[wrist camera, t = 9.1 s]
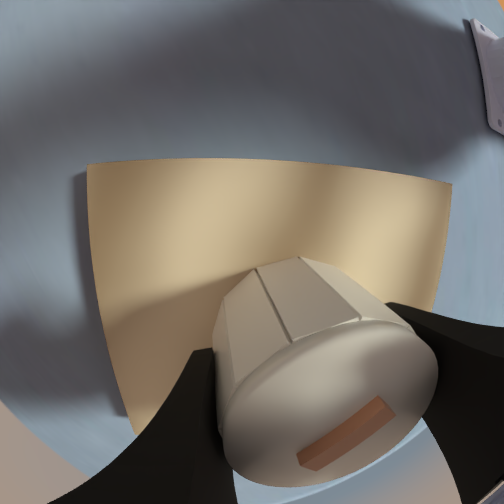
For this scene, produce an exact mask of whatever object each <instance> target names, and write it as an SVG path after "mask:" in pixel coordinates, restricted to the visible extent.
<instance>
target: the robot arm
mask: <svg viewBox="0 0 504 504" xmlns="http://www.w3.org/2000/svg"><path fill="white" fill-rule="evenodd" d="M470 24H471V28H472V31H473V35H474V39H475V43H476V47H477V51H478V56H479V60H480V66H481V71H482V77H483V83H484V90H485V97H486V106H487V117H488V123H489V125H490V127H491V128H492V129H494V130H495V131H497V132H499V133H501V134H502V135H504V37H503V38H499V37H498V36H496V35H495V34H494V33H493V32H492V31H490V30H489V29H488V28H487V27H485V26H484V25H483V24H482V23H480V22H479V21H478V20H476V19H471V20H470ZM385 305H386V306H387V307H388V308H390V309H391V310H392V311H393V312H395V313H396V314H397V315H398V316H399V317H401V318H402V319H403V320H404V321H406V322H407V323H408V324H409V325H411V327H412V329H413V330H414V332H415V333H416V335H417V336H418V337H419V338H420V339H421V340H423V341H424V342H425V343H426V344H427V345H428V346H429V347H430V348H431V349H432V351H433V352H434V354H435V357H436V359H437V364H438V380H437V386H436V389H435V392H434V395H433V397H432V400H431V402H430V404H429V406H428V408H427V409H426V411H425V413H424V414H423V416H422V418H423V420H424V421H425V423H426V424H427V426H428V427H429V429H430V431H431V433H432V434H433V436H434V437H435V439H436V441H437V443H438V445H439V447H440V449H441V451H442V453H443V454H444V457H445V459H446V461H447V463H448V465H449V468H450V470H451V472H452V475H453V477H454V480H455V483H456V486H457V489H458V492H459V495H460V498H461V502H462V504H477V503H478V502H480V501H481V500H482V499H483V498H484V497H485V496H487V495H488V494H489V493H490V492H491V491H492V490H494V489H495V488H496V487H497V486H498V485H499V484H500V483H501V482H502V481H504V327H495V326H487V325H480V324H475V323H470V322H465V321H461V320H456V319H452V318H449V317H445V316H441V315H438V314H434V313H431V312H428V311H424V310H421V309H417V308H414V307H411V306H407V305H403V304H399V303H395V302H388V303H385ZM47 504H238V503H237V497H236V492H235V487H234V479H233V468H232V467H231V466H230V465H229V463H228V461H227V459H226V457H225V453H224V448H223V438H222V437H221V435H220V433H219V431H218V424H217V410H216V396H215V359H214V351H213V348H212V347H211V348H205V349H199V350H194V351H193V352H192V353H191V355H190V357H189V359H188V361H187V363H186V365H185V367H184V369H183V371H182V373H181V374H180V376H179V378H178V380H177V381H176V383H175V385H174V387H173V388H172V390H171V392H170V393H169V395H168V397H167V398H166V400H165V401H164V403H163V404H162V405H161V407H160V408H159V410H158V411H157V413H156V414H155V416H154V417H153V418H152V420H151V421H150V422H149V424H148V425H147V426H146V427H145V429H144V430H143V431H142V432H141V433H140V434H139V436H138V437H137V438H136V439H135V440H134V441H133V442H132V443H131V444H130V445H129V446H128V447H127V448H126V449H125V450H124V451H123V452H122V453H121V454H120V455H119V456H118V457H117V458H116V459H114V460H113V461H112V462H111V463H110V464H109V465H108V466H106V467H105V468H104V469H103V470H101V471H100V472H99V473H97V474H96V475H95V476H93V477H92V478H91V479H89V480H88V481H86V482H85V483H83V484H82V485H80V486H79V487H77V488H76V489H74V490H72V491H70V492H68V493H67V494H65V495H63V496H61V497H60V498H57V499H56V500H54V501H52V502H49V503H47ZM481 504H504V484H503V485H502V486H501V487H500V488H499V489H498V490H497V491H496V492H494V493H493V494H492V495H491V496H490V497H489V498H488V499H486V500H485V501H484V502H483V503H481Z"/></svg>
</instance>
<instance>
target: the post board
mask: <svg viewBox="0 0 504 504" xmlns="http://www.w3.org/2000/svg"><path fill="white" fill-rule="evenodd" d="M451 195H452V184H450V183H445V182H441V181H436V180H431V179H426V178H420V177H415V176H409V175H404V174H398V173H391V172H385V171H378V170H371V169H364V168H356V167H348V166H339V165H330V164H320V163H308V162H296V161H281V160H262V159H233V158H180V159H151V160H133V161H118V162H106V163H96V164H87V205H88V223H89V236H90V247H91V256H92V265H93V273H94V280H95V286H96V293H97V299H98V304H99V310H100V315H101V320H102V325H103V329H104V334H105V338H106V343H107V347H108V351H109V355H110V359H111V363H112V366H113V370H114V373H115V377H116V380H117V384H118V387H119V390H120V393H121V396H122V400H123V403H124V406H125V408H126V411H127V414H128V417H129V420H130V423H131V425H132V428H133V430H134V433H135V434H136V435H139V434H140V433H141V432H142V431H143V430H144V429H145V427H146V426H147V425H148V424H149V422H150V421H151V420H152V418H153V417H154V416H155V414H156V413H157V411H158V410H159V408H160V407H161V405H162V404H163V403H164V401H165V400H166V398H167V397H168V395H169V393H170V392H171V390H172V388H173V387H174V385H175V383H176V381H177V380H178V378H179V376H180V374H181V373H182V371H183V369H184V367H185V365H186V363H187V361H188V359H189V357H190V355H191V353H192V352H193V351H194V350H199V349H205V348H211V347H212V348H213V340H212V333H213V330H214V326H215V323H216V319H217V316H218V312H219V309H220V305H221V302H222V300H224V296H226V295H227V294H228V293H229V292H230V291H231V290H232V289H233V288H234V287H235V286H236V285H237V284H238V283H239V282H241V281H242V280H243V279H244V278H245V277H246V276H247V275H248V274H249V273H250V272H251V271H252V270H253V269H254V270H255V271H256V272H257V267H260V266H264V265H268V264H271V263H275V262H279V261H283V260H286V259H290V258H293V257H298V258H299V257H303V258H307V259H311V260H314V261H318V262H322V263H326V264H329V265H333V266H336V267H337V268H339V269H340V270H341V271H342V272H344V273H345V274H346V275H348V276H349V277H350V278H352V279H353V280H354V281H355V282H357V283H358V284H359V285H361V286H362V287H363V288H364V289H366V290H367V291H368V292H369V293H371V294H372V295H373V296H375V297H376V298H377V299H378V300H380V301H381V302H382V303H383V304H385V303H388V302H395V303H399V304H403V305H407V306H411V307H414V308H417V309H421V310H424V311H428V312H431V311H432V308H433V304H434V300H435V296H436V292H437V287H438V283H439V278H440V273H441V268H442V263H443V258H444V252H445V246H446V239H447V233H448V225H449V216H450V207H451ZM257 273H258V272H257Z"/></svg>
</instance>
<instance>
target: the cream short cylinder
mask: <svg viewBox="0 0 504 504" xmlns="http://www.w3.org/2000/svg"><path fill="white" fill-rule="evenodd" d="M257 272H258V273H257ZM257 272H256V271H255V270H254V269H253V270H252V271H251V272H250V273H249V274H248V275H247V276H246V277H245V278H244V279H243V280H242V281H241V282H239V283H238V284H237V285H236V286H235V287H234V288H233V289H232V290H231V291H230V292H229V293H228V294H227V295H226V296H224V300H222V302H221V305H220V309H219V312H218V316H217V319H216V323H215V326H214V330H213V333H212V340H213V351H214V359H215V396H216V410H217V424H218V431H219V433H220V435H221V437H222V438H223V448H224V453H225V457H226V459H227V461H228V463H229V465H230V466H231V467H232V468H233V470H234V471H236V472H237V473H238V474H239V475H241V476H243V477H244V478H246V479H248V480H250V481H253V482H256V483H259V484H263V485H267V486H275V487H301V486H310V485H315V484H320V483H324V482H328V481H331V480H334V479H337V478H340V477H343V476H346V475H348V474H350V473H353V472H355V471H357V470H359V469H361V468H363V467H365V466H367V465H368V464H370V463H372V462H374V461H375V460H377V459H378V458H380V457H381V456H383V455H384V454H386V453H387V452H388V451H389V450H391V449H392V448H393V447H395V446H396V445H397V444H398V443H399V442H400V441H401V440H402V439H403V438H404V437H405V436H406V435H407V434H408V433H409V432H410V431H411V430H412V429H413V428H414V426H415V425H416V424H417V423H418V421H419V420H420V419H421V417H422V416H423V414H424V413H425V411H426V409H427V408H428V406H429V404H430V402H431V400H432V397H433V395H434V392H435V389H436V386H437V380H438V364H437V359H436V357H435V354H434V352H433V351H432V349H431V348H430V347H429V346H428V345H427V344H426V343H425V342H424V341H423V340H421V339H420V338H419V337H418V336H417V335H416V333H415V332H414V330H413V329H412V327H411V325H409V324H408V323H407V322H406V321H404V320H403V319H402V318H401V317H399V316H398V315H397V314H396V313H395V312H393V311H392V310H391V309H390V308H388V307H387V306H386V305H385V304H383V303H382V302H381V301H380V300H378V299H377V298H376V297H375V296H373V295H372V294H371V293H369V292H368V291H367V290H366V289H364V288H363V287H362V286H361V285H359V284H358V283H357V282H355V281H354V280H353V279H352V278H350V277H349V276H348V275H346V274H345V273H344V272H342V271H341V270H340V269H339V268H337V267H336V266H333V265H329V264H326V263H322V262H318V261H314V260H311V259H307V258H303V257H299V258H298V257H293V258H290V259H286V260H283V261H279V262H275V263H271V264H268V265H264V266H260V267H257Z"/></svg>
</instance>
